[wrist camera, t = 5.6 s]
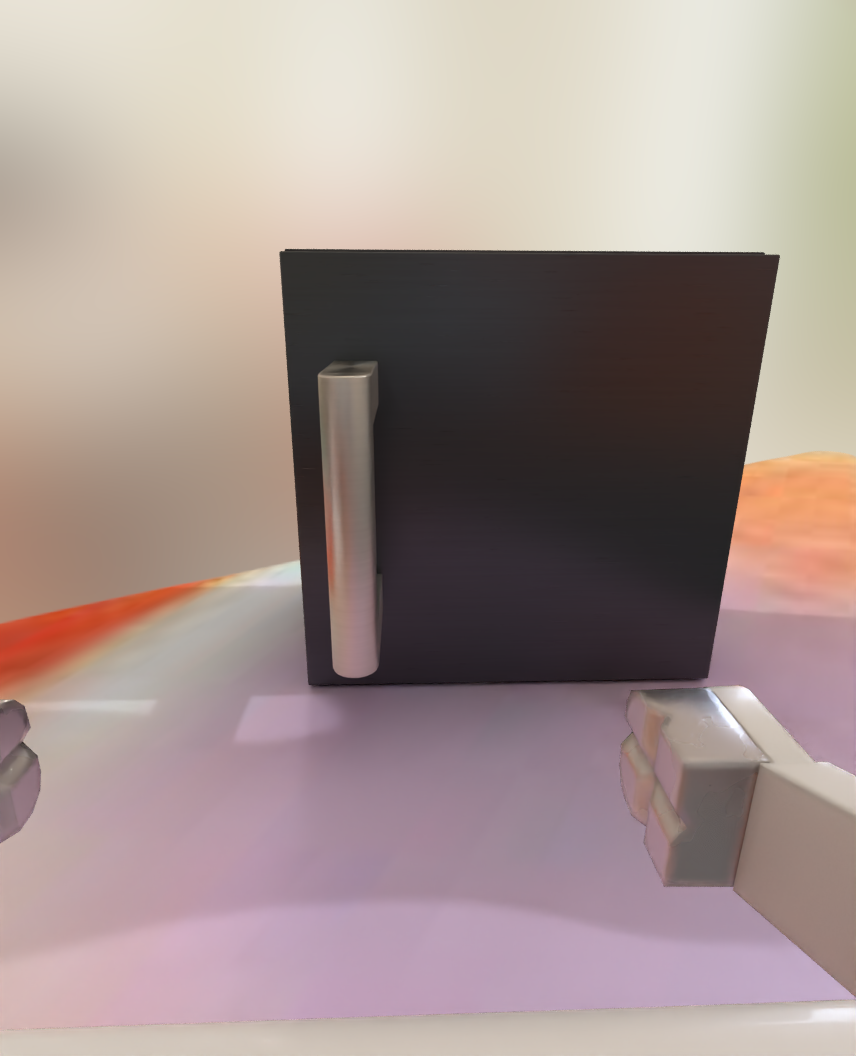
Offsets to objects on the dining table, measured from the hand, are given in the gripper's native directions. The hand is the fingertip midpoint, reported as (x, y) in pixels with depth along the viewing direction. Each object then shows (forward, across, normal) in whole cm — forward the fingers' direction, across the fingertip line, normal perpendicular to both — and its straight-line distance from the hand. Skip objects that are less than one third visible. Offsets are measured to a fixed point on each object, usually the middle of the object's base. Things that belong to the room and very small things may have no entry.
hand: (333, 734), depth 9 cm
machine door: (+14, -6, +10) cm, 18 cm away
